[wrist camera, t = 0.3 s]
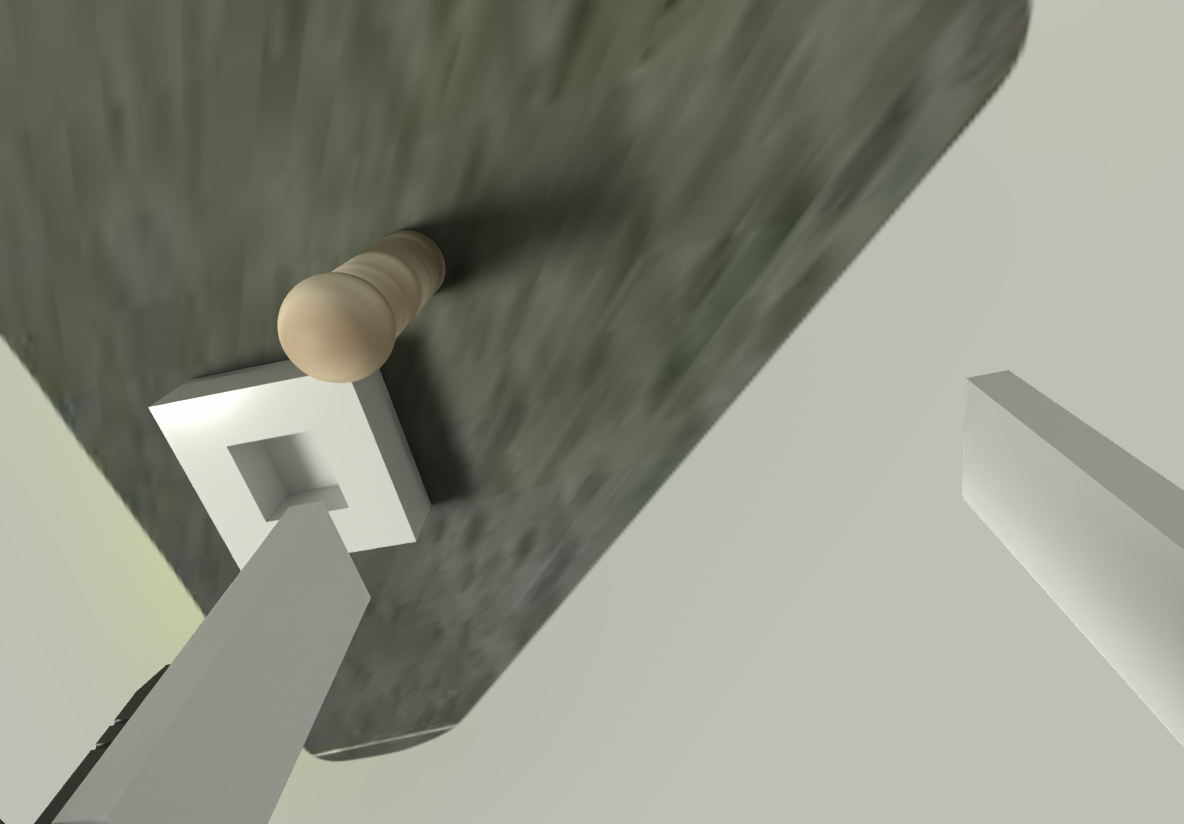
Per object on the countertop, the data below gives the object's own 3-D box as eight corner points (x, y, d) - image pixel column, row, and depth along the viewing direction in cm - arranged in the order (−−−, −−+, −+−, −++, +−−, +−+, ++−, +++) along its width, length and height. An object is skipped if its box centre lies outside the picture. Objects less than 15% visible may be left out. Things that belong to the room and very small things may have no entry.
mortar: (189, 379, 40) (148, 407, 37) (369, 343, 39) (346, 368, 35) (269, 533, 45) (240, 570, 42) (431, 505, 44) (416, 541, 41)
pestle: (358, 233, 36) (235, 302, 24) (436, 216, 36) (351, 277, 24) (386, 311, 38) (285, 410, 26) (460, 295, 38) (393, 390, 26)
